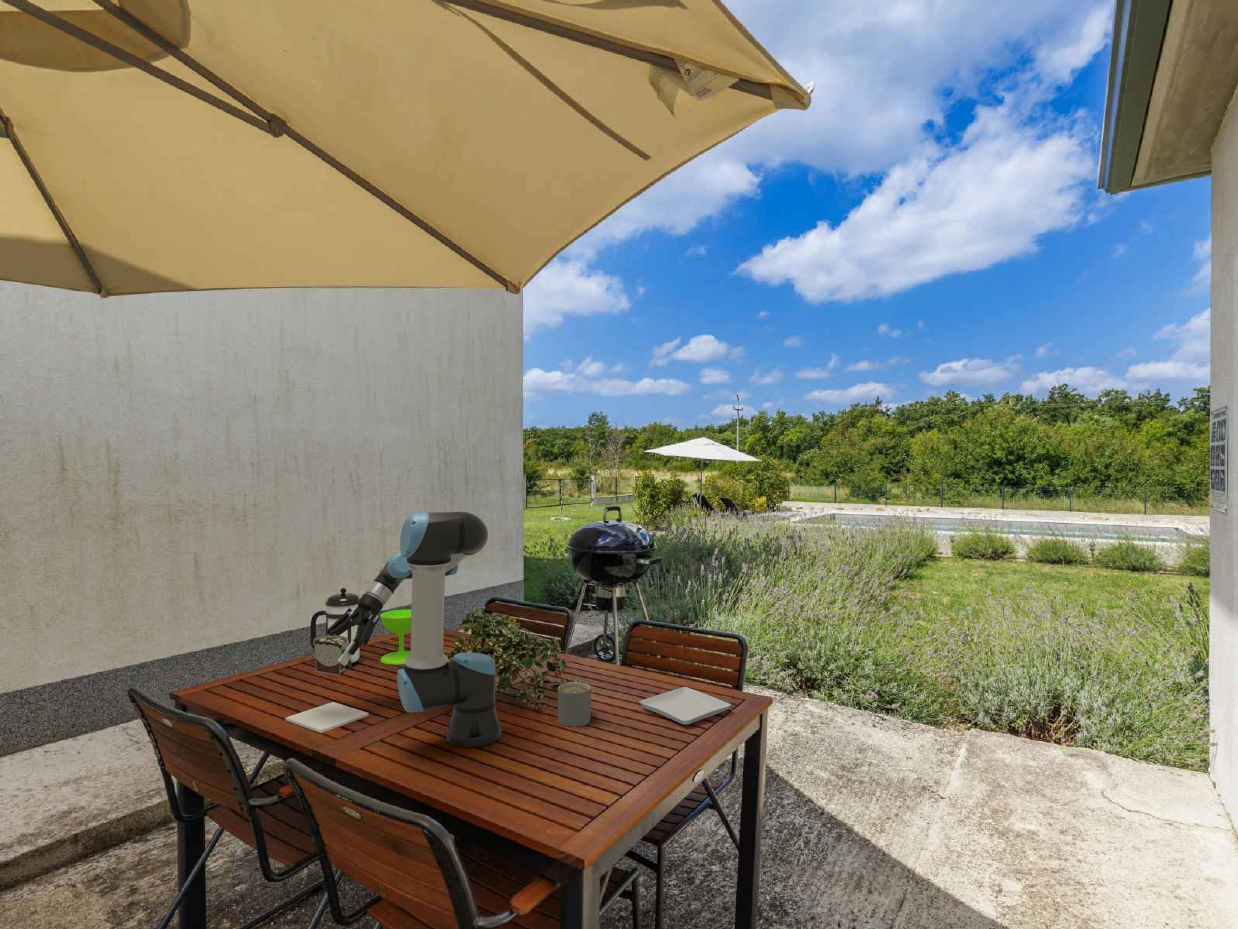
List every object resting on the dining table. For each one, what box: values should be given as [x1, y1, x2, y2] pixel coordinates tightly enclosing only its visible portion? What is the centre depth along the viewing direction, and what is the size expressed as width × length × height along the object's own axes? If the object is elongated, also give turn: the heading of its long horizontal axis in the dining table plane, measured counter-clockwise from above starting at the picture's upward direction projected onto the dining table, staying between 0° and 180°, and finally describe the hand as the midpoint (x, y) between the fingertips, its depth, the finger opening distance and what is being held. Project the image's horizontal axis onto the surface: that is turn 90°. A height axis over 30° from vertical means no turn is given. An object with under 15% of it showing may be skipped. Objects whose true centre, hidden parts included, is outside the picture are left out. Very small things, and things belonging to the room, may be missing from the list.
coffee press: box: [309, 587, 363, 670], centre depth 254 cm, size 17×16×30 cm
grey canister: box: [557, 681, 592, 728], centre depth 200 cm, size 13×10×10 cm
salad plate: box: [639, 686, 732, 726], centre depth 206 cm, size 21×21×3 cm
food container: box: [313, 635, 350, 677], centre depth 200 cm, size 12×6×10 cm, turn 68°
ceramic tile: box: [284, 701, 370, 734], centre depth 200 cm, size 18×16×1 cm
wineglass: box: [380, 609, 412, 665], centre depth 263 cm, size 16×16×18 cm
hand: (329, 659), depth 198 cm, fingers closed on food container, 11 cm apart
